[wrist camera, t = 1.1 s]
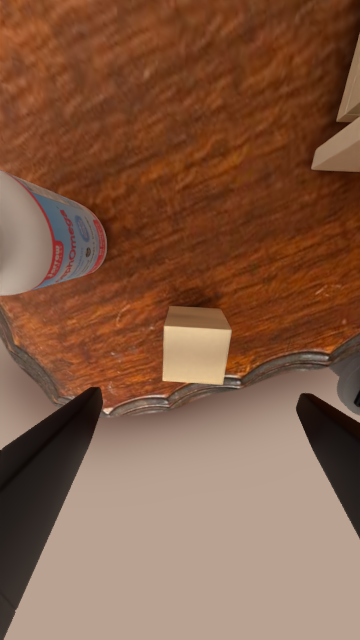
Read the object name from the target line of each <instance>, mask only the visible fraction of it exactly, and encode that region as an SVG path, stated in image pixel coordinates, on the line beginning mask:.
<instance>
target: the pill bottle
mask: <svg viewBox="0 0 360 640" xmlns="http://www.w3.org/2000/svg"><path fill="white" fill-rule="evenodd" d="M106 252H107V239H106V234H105V231H104V228H103V226H102V224H101V222H100V221H99V219H98V218H97V217H96V216H95V214H94V213H93V212H91V211H90V210H89V209H88V208H86V207H85V206H83V205H81V204H79V203H77V202H75V201H73V200H70V199H68V198H66V197H64V196H61V195H59V194H56V193H54V192H52V191H49V190H47V189H45V188H42V187H40V186H38V185H35V184H33V183H30V182H28V181H25V180H23V179H21V178H18V177H16V176H13V175H11V174H9V173H7V172H4V171H2V170H0V295H14V294H19V293H23V292H27V291H31V290H34V289H38V288H42V287H45V286H49V285H52V284H56V283H59V282H63V281H67V280H70V279H74V278H78V277H82V276H85V275H88V274H91V273H93V272H94V271H96V270H97V269H98V268H99V267H100V266H101V264H102V263H103V261H104V259H105V256H106Z"/></svg>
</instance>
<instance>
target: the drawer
mask: <svg viewBox="0 0 360 640" xmlns="http://www.w3.org/2000/svg"><path fill="white" fill-rule="evenodd" d="M336 122H352V123H351V124H349V125H348V126H347V127H345V128H344V129H343V130H341V131H340V132H339V133H337V134H336V135H335V136H333V137H332V138H331V139H329V140H328V141H327V142H325V143H324V144H322V145H321V146H320V147H318V148H317V149H316V151H315V155H314V159H313V163H312V167H311V169H312V170H328V171H348V172H360V34H359V38H358V42H357V46H356V49H355V53H354V57H353V60H352V64H351V68H350V72H349V75H348V79H347V83H346V86H345V90H344V94H343V98H342V101H341V105H340V109H339V112H338V116H337V120H336Z"/></svg>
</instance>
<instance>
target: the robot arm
mask: <svg viewBox="0 0 360 640" xmlns="http://www.w3.org/2000/svg"><path fill="white" fill-rule="evenodd" d="M354 404H355V405H356V406H357V407H360V390H359V392H358V394H357V396H356V398H355V400H354ZM102 406H103V399H102V393H101V389H100V388H99V387H90V388H88V389H87V390H86V391H84V392H83V393H81V394H80V395H78V396H77V397H75V398H74V399H73V400H71V401H70V402H68V403H67V404H65V405H64V406H63V407H61V408H60V409H58V410H57V411H55V412H54V413H52V414H51V415H50V416H48V417H47V418H45V419H44V420H42V421H41V422H40V423H38V424H37V425H35V426H34V427H32V428H31V429H29V430H28V431H27V432H25V433H24V434H22V435H21V436H20V437H18V438H17V439H15V440H14V441H12V442H11V443H9V444H8V445H6V446H5V447H4V448H3V449H2V450H0V640H4V637H5V635H6V633H7V630H8V628H9V626H10V624H11V621H12V619H13V617H14V615H15V610H16V609H17V607H18V605H19V603H20V601H21V598H22V596H23V594H24V592H25V589H26V587H27V585H28V583H29V580H30V578H31V576H32V573H33V571H34V569H35V567H36V564H37V562H38V560H39V558H40V555H41V553H42V551H43V549H44V546H45V544H46V542H47V539H48V537H49V535H50V533H51V531H52V528H53V526H54V524H55V521H56V519H57V517H58V515H59V512H60V510H61V508H62V506H63V503H64V501H65V499H66V496H67V494H68V492H69V490H70V488H71V485H72V483H73V481H74V478H75V476H76V474H77V472H78V469H79V467H80V465H81V463H82V460H83V458H84V456H85V454H86V451H87V449H88V447H89V444H90V442H91V439H92V436H93V433H94V430H95V427H96V424H97V421H98V418H99V415H100V412H101V409H102ZM296 411H297V414H298V416H299V419H300V421H301V424H302V426H303V428H304V431H305V433H306V435H307V437H308V440H309V443H310V445H311V447H312V449H313V451H314V453H315V455H316V457H317V459H318V461H319V463H320V465H321V466H322V468H323V470H324V472H325V474H326V476H327V478H328V480H329V482H330V483H331V485H332V487H333V489H334V491H335V493H336V495H337V497H338V499H339V500H340V502H341V504H342V506H343V508H344V510H345V512H346V514H347V516H348V517H349V519H350V521H351V523H352V525H353V527H354V529H355V531H356V532H357V534H358V536H359V538H360V423H359V422H357V421H356V420H354V419H352V418H351V417H349V416H347V415H346V414H344V413H343V412H341V411H339V410H338V409H336V408H334V407H333V406H331V405H329V404H328V403H326V402H325V401H323V400H321V399H320V398H318V397H316V396H315V395H313V394H310V393H302V394H301V395H300V397H299V400H298V403H297V406H296Z"/></svg>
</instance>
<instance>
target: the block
mask: <svg viewBox="0 0 360 640" xmlns="http://www.w3.org/2000/svg"><path fill="white" fill-rule="evenodd" d="M231 332H232V329H231V327H230V326H229V324H228V322H227V320H226V318H225V316H224V314H223V312H222V310H221V309H216V308H199V307H182V306H170V307H169V310H168V314H167V317H166V321H165V324H164V344H163V381H175V382H190V383H206V384H221V385H223V380H224V374H225V368H226V362H227V356H228V350H229V344H230V338H231Z"/></svg>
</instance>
